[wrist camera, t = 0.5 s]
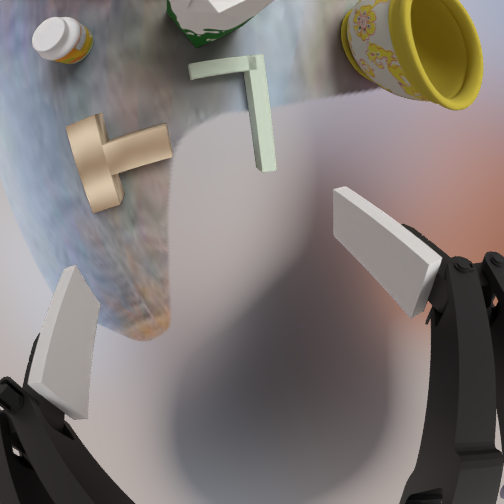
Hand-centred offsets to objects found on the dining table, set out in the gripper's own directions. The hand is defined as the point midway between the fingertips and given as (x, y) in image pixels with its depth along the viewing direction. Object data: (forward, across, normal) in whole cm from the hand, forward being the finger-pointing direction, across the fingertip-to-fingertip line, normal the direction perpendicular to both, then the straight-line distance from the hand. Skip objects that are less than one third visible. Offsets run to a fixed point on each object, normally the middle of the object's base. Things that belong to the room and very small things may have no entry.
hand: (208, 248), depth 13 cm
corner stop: (+26, +7, +2) cm, 27 cm away
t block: (+26, -7, +2) cm, 27 cm away
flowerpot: (+26, +32, +13) cm, 43 cm away
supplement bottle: (+26, -11, +19) cm, 34 cm away
